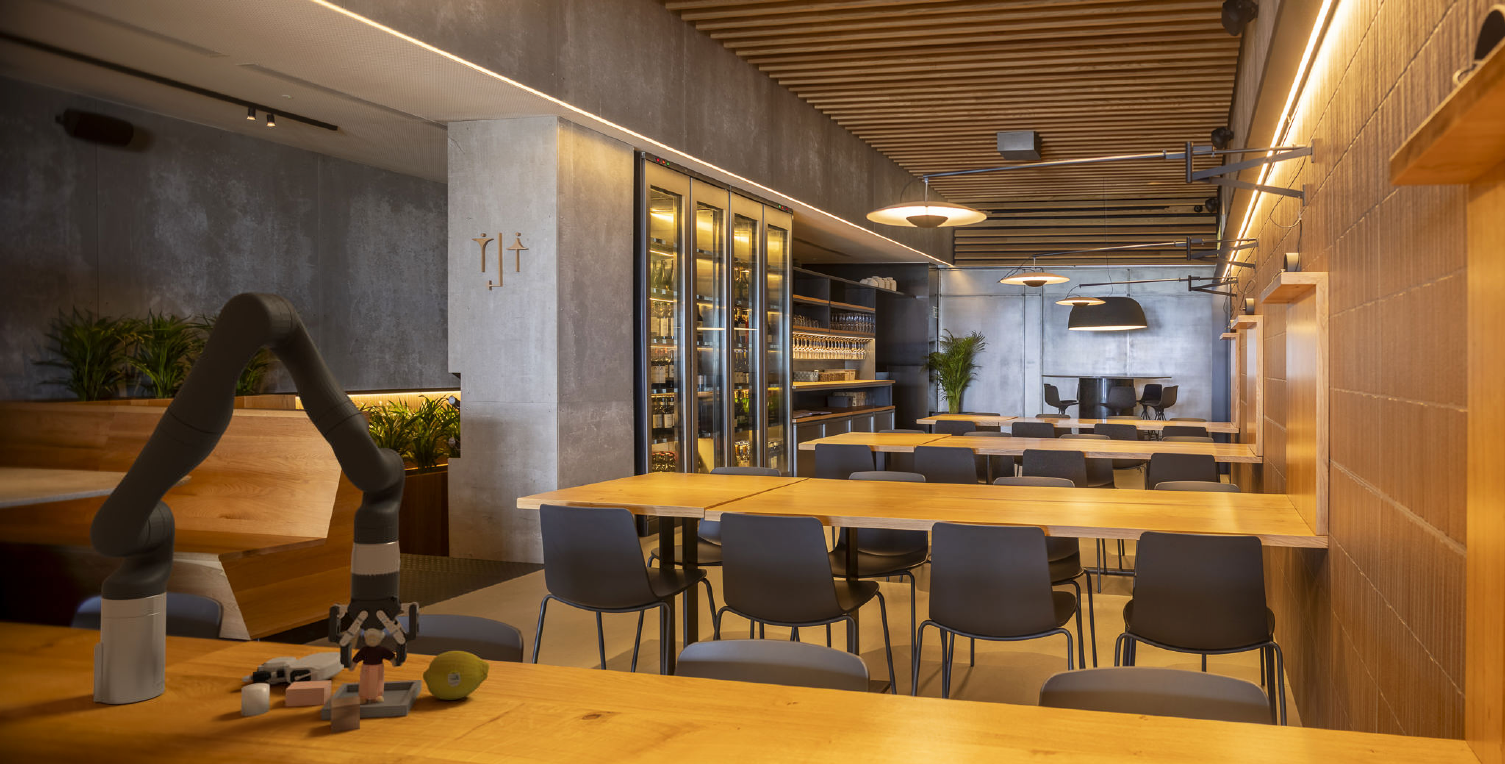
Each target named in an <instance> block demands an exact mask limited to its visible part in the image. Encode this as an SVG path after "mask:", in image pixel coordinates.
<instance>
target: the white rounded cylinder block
mask: <svg viewBox="0 0 1505 764" xmlns="http://www.w3.org/2000/svg"><path fill="white" fill-rule="evenodd" d="M270 685H271V684H269V683H266V682H260V683H252V684H247V685H245V686H243V687H241V696H240V697H241V699H240V700H241V701H240V702H241V703H240V705H241V706H240V714H241V716H244V717H255V716H261V715H263V714H267V713H268V712H269V711H270Z"/></svg>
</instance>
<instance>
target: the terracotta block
mask: <svg viewBox="0 0 1505 764" xmlns="http://www.w3.org/2000/svg"><path fill="white" fill-rule="evenodd" d="M331 697H332V680H324V681H305V682H293V683H292V684H290V685H288V687H287V688H286V689H285V707H299V706H300V707H302V706H324V705H325V704H326V703H327V702H328V700H329V699H330V698H331Z"/></svg>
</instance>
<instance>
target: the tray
mask: <svg viewBox="0 0 1505 764" xmlns="http://www.w3.org/2000/svg"><path fill="white" fill-rule="evenodd" d="M422 682H423V681H422V680H421V679H414V680H413V679H412V680H411V679H410V680H409V679H408V680H388V681H385V680H384V690H383V695H381V696H382V697H383V699H384V701H383V702H380V703H372V702H371V700H372V699H370V700H368V702H367V703H365V704H360V719H366V718H368V719H369V718H386V717H387V718H388V717H389V718H390V717H406V716H408V715H409V713H410V710H411V709H412V707H414V704H415V702H416V700H417V698H418V697H417V696H419V695H420V693H421V691H422ZM354 696H359V682H344V683H342V684H341V685H340V686H339V687H338V688H337V690H336V691H335V692H334V693H333V694H332V695H331V697H330V698H329V700H328V701H327V702H326V703H325V704H324V705H322V707H321V709H320V720H321V721H322V720H323V721H327V720H328V721H329V720H331V699H338V698H346V697H354Z"/></svg>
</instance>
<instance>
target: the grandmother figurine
mask: <svg viewBox="0 0 1505 764" xmlns="http://www.w3.org/2000/svg"><path fill="white" fill-rule="evenodd" d="M385 636H386V633H385V631H384V629H383V630H377V629H374V628H372V629H368V630H363V637H364V639H365V640H364V641H365V644H366V645H365V646H362V647H361V648H360V649H359V650H358V651H357V652H356V653H355V654H354V656H352V662H351V664H350V667H349V668H347V670H348V672H350V673H351V672H353V671H355V670H356V667H357V665H358V664H359V663H360V662H362V664H361V667H360V673H359V682H358V683H359V699H360V704H365V703H367V702H368V700H370V699H372V700H371V702H372V703H380V702H383V701H384V699H383V697H382V696H381V695H383V690H384V682H385V665H384V661H383V660H386V661H389V662H390V663H391V665H392V667H393V668H397V667H398V666H396V652H394V651H392V650H391V649H390V648H388V647H386V646H384V645H380V644H381V642H382V640H383V639H384V638H386V637H385Z"/></svg>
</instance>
